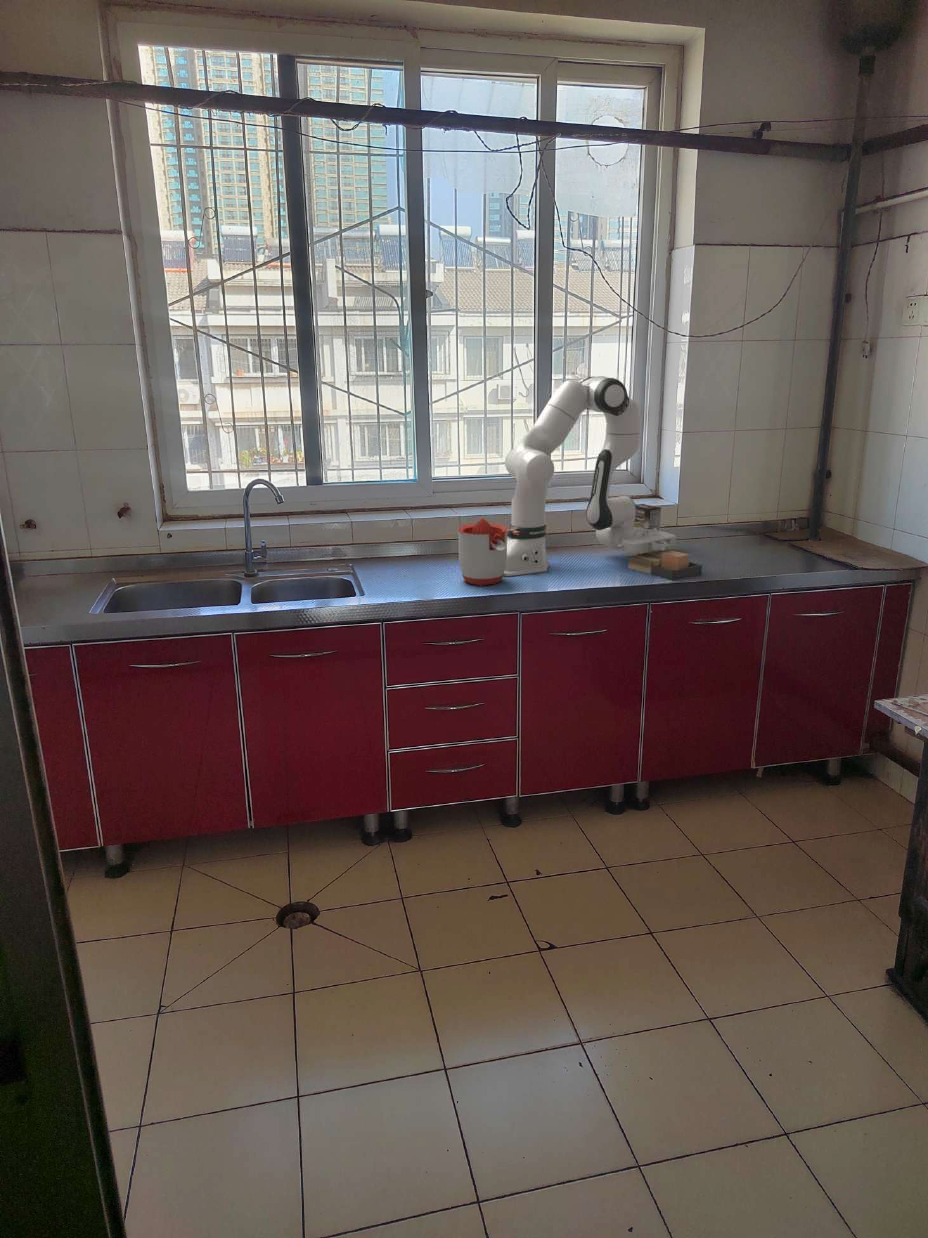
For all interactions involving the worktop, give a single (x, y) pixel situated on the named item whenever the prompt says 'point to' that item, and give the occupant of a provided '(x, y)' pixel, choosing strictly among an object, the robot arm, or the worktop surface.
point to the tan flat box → (645, 561)
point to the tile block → (674, 560)
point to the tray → (677, 571)
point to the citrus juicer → (482, 552)
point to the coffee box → (648, 517)
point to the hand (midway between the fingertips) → (667, 547)
